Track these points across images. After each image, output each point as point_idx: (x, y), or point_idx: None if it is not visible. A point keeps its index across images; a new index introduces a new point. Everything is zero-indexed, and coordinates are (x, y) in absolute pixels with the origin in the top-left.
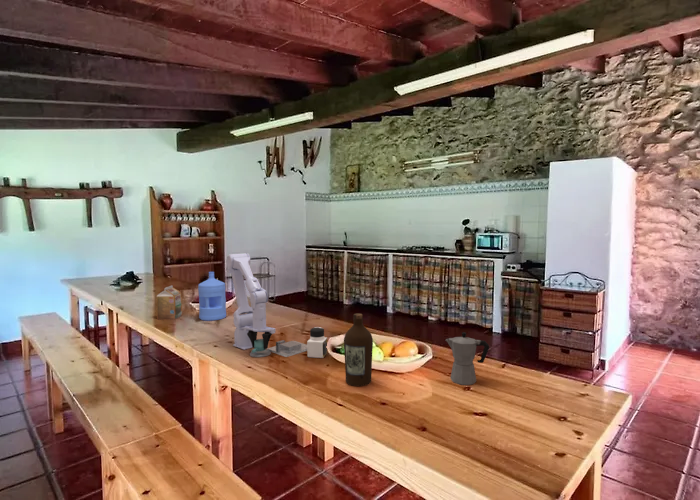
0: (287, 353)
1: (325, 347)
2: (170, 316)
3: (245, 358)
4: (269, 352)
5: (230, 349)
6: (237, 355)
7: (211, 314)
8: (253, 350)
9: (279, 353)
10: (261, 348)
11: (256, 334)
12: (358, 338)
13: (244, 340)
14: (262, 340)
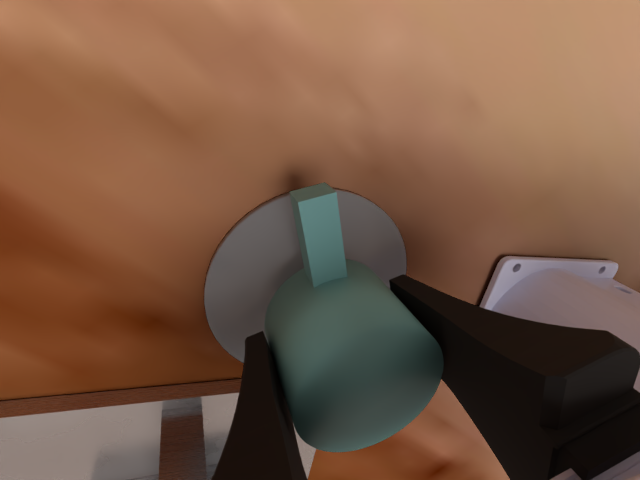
0: (27, 452)
1: None
2: None
3: (348, 103)
4: None
5: (598, 200)
6: (477, 126)
7: None
8: (306, 199)
9: (122, 401)
10: (281, 313)
11: (496, 446)
12: None
13: (572, 320)
14: (348, 416)
